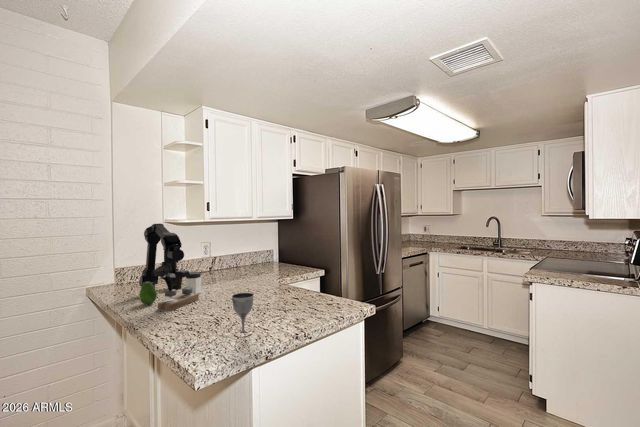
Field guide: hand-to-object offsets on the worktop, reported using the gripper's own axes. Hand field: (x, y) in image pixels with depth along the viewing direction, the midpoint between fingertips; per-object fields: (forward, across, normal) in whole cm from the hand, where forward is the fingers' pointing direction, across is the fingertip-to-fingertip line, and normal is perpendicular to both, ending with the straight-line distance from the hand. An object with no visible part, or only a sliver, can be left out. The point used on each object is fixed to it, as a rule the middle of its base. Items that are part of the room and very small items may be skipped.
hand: (170, 290), depth 153 cm
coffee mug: (+9, -28, +34) cm, 45 cm away
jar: (+9, -8, +27) cm, 30 cm away
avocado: (+9, -15, +2) cm, 18 cm away
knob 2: (+5, 0, +12) cm, 13 cm away
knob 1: (+3, 0, 0) cm, 3 cm away
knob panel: (+9, 0, +6) cm, 10 cm away
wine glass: (+9, +53, -21) cm, 58 cm away
